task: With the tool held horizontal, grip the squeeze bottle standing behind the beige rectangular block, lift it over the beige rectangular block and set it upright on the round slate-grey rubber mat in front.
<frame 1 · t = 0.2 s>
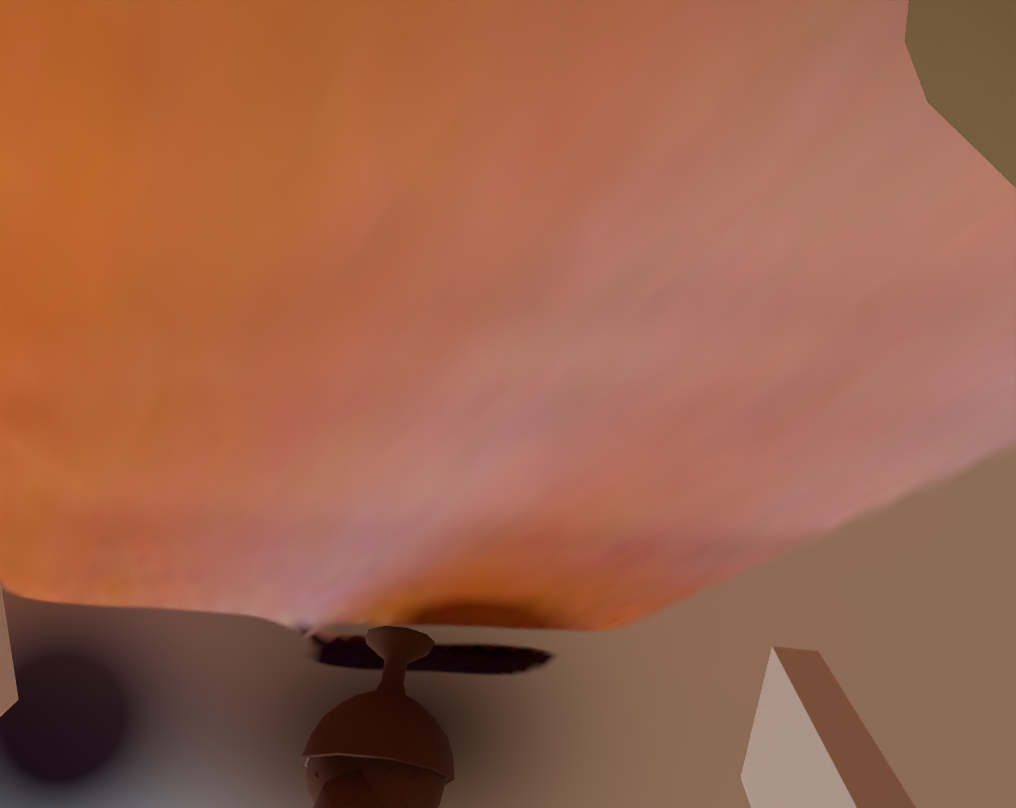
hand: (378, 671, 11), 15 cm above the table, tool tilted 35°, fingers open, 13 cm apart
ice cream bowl: (400, 636, 53), on the table
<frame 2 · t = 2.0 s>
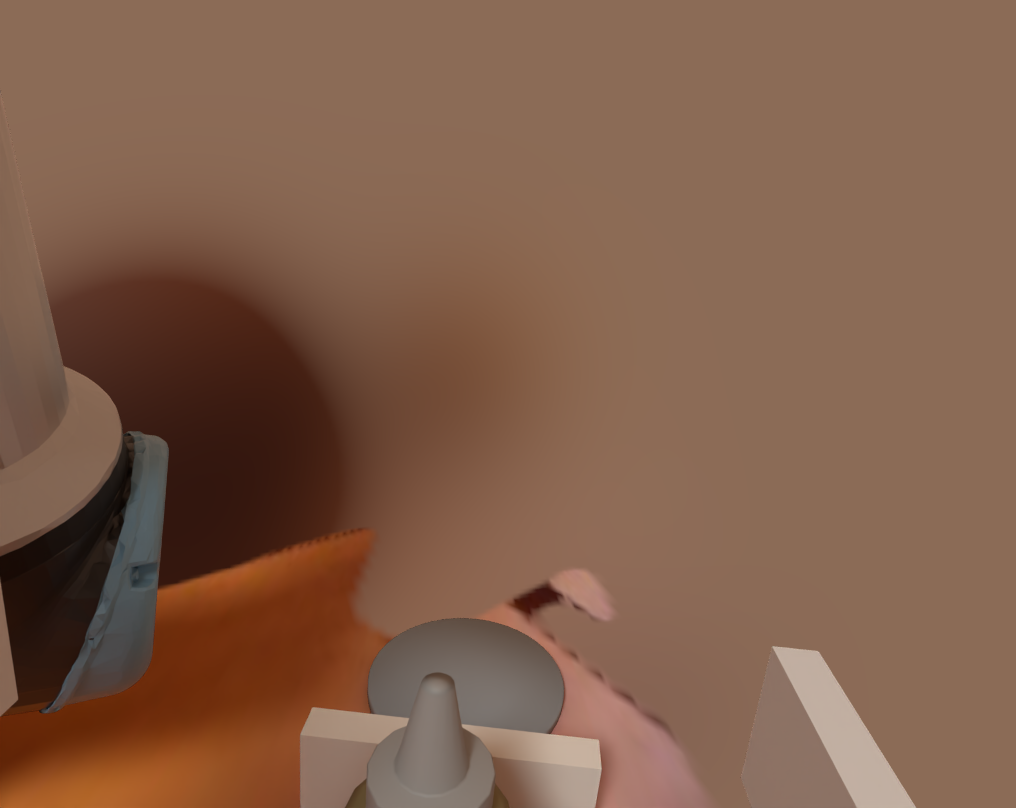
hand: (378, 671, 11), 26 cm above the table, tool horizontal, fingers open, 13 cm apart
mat: (466, 686, 48), on the table
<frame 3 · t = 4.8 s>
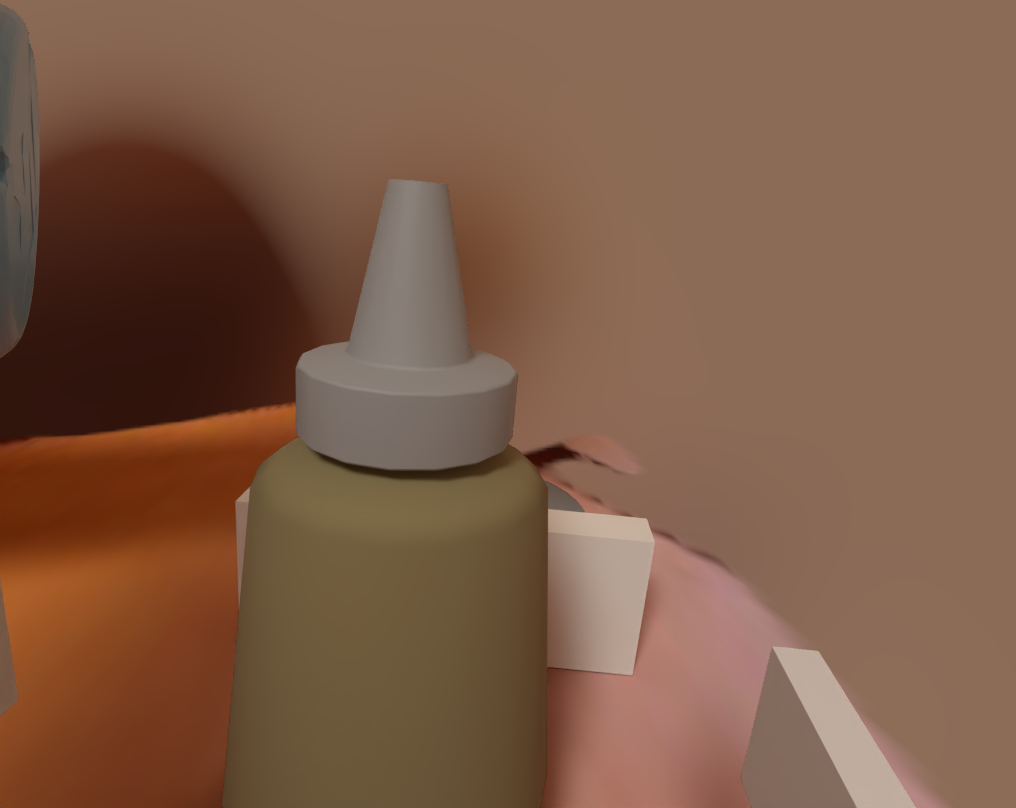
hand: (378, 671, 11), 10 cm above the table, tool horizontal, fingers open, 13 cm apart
beige rectangular block: (438, 640, 28), on the table
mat: (465, 521, 38), on the table
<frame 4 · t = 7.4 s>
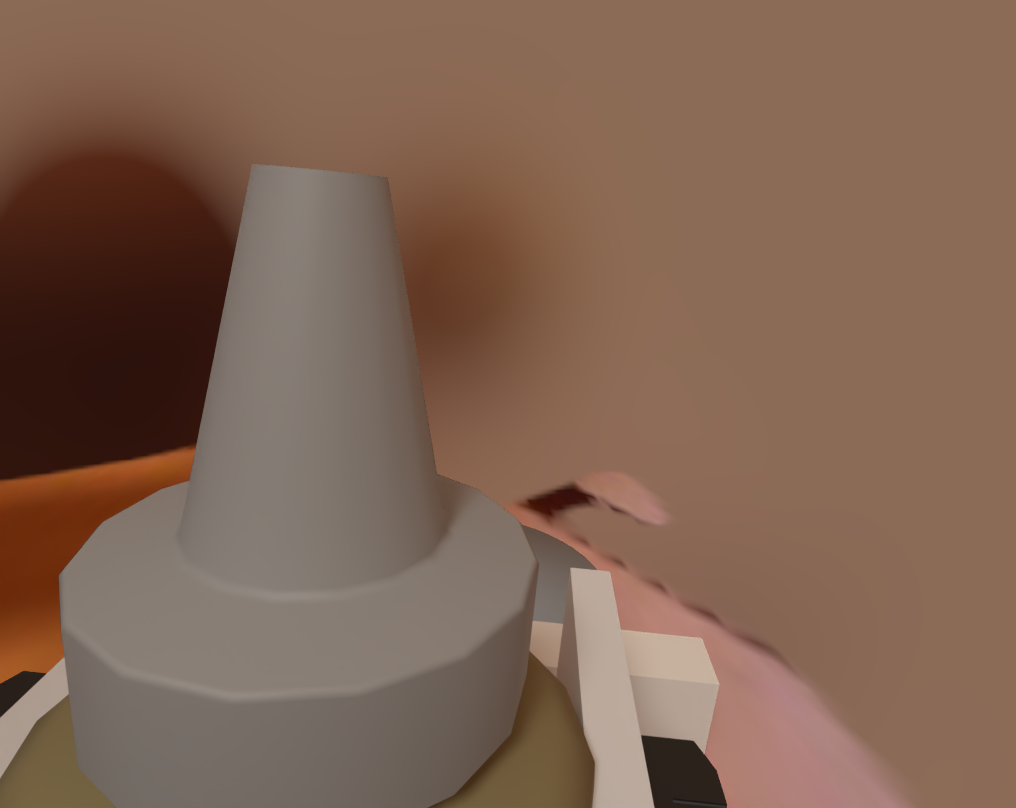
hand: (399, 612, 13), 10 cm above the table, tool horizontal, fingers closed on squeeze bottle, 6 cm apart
beige rectangular block: (419, 795, 21), on the table
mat: (459, 597, 31), on the table
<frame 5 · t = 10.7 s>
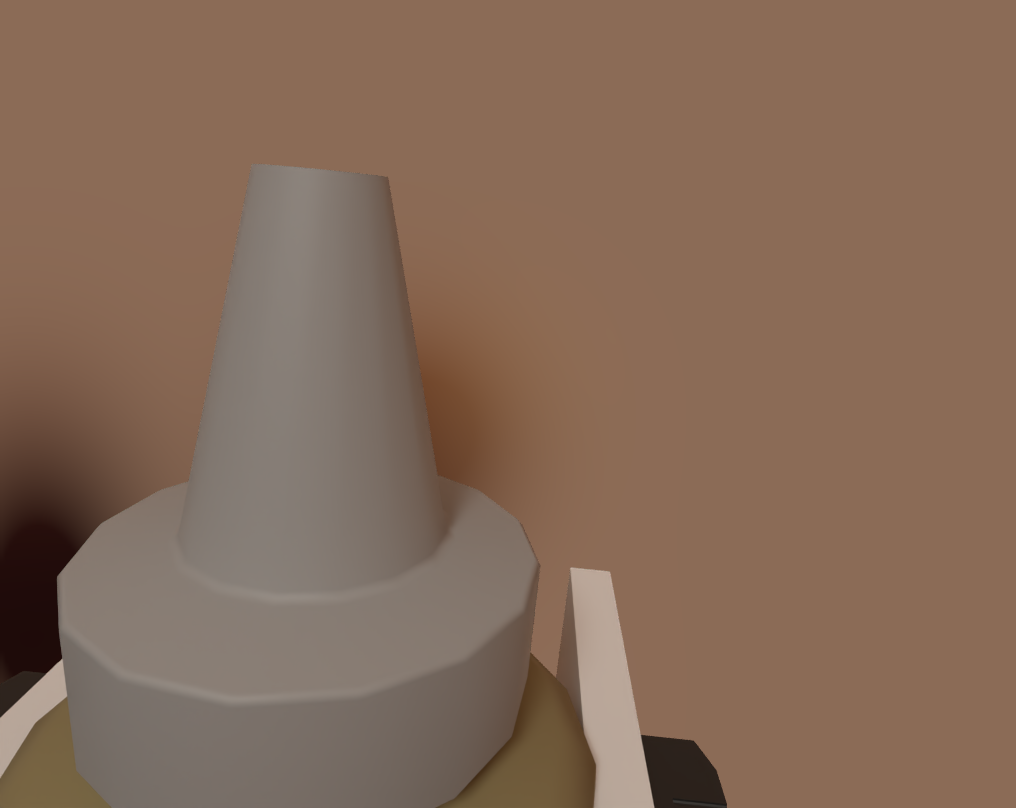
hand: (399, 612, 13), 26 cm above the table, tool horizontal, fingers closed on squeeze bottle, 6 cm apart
when the fingers open (13 cm above the table, at t = 14.3 s): squeeze bottle drops 2 cm, resting on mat.
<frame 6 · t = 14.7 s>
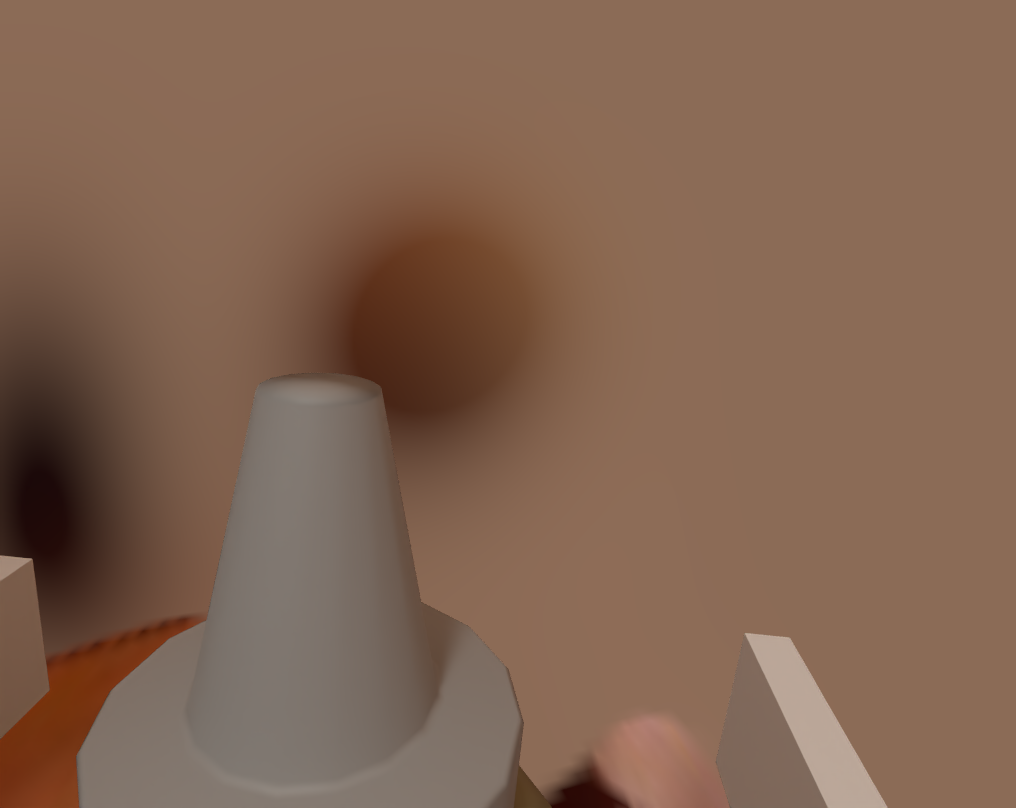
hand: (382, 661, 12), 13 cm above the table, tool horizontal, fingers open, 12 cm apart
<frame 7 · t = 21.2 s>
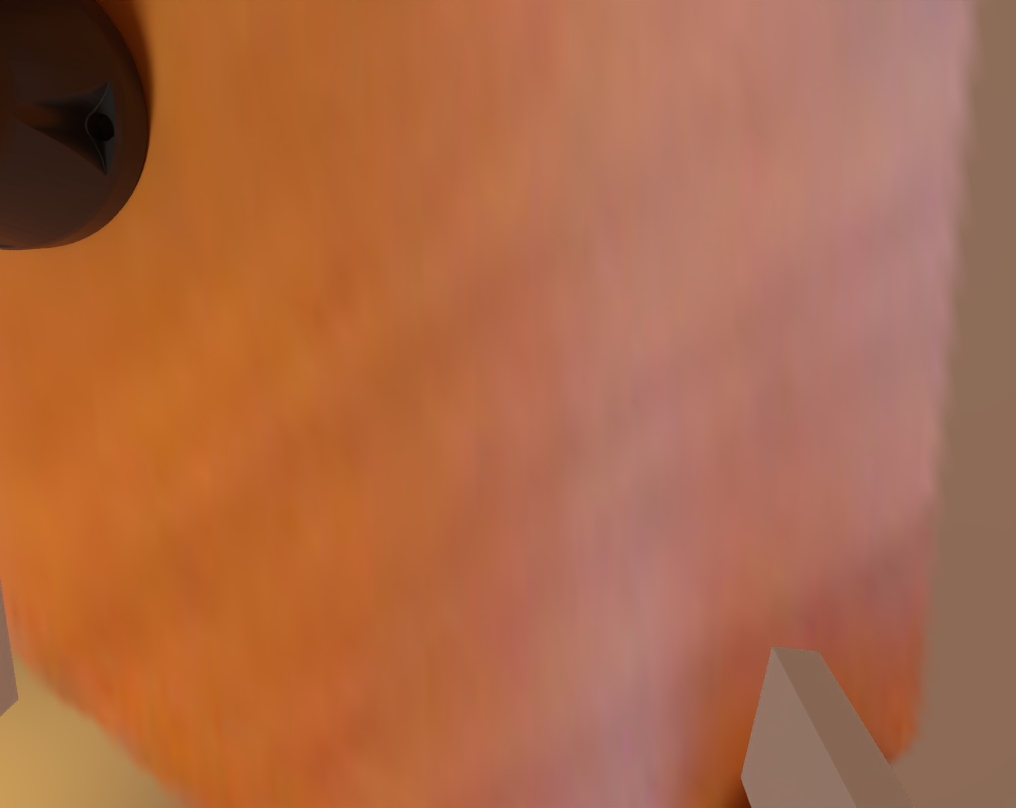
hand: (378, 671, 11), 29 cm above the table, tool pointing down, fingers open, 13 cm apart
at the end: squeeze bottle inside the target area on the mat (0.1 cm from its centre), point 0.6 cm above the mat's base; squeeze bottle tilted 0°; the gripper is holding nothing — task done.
